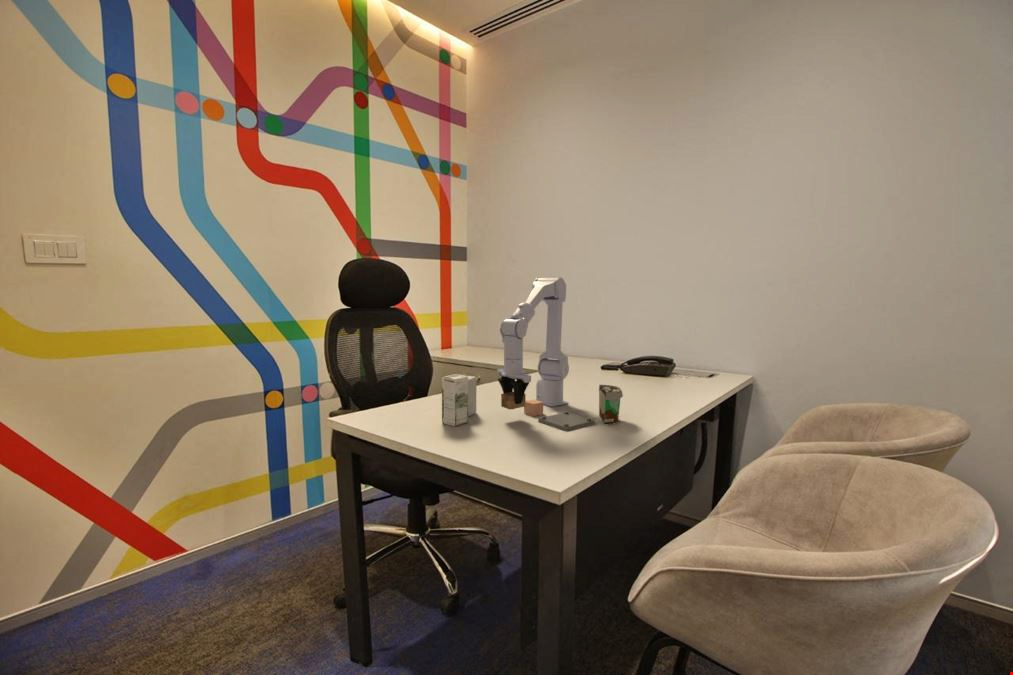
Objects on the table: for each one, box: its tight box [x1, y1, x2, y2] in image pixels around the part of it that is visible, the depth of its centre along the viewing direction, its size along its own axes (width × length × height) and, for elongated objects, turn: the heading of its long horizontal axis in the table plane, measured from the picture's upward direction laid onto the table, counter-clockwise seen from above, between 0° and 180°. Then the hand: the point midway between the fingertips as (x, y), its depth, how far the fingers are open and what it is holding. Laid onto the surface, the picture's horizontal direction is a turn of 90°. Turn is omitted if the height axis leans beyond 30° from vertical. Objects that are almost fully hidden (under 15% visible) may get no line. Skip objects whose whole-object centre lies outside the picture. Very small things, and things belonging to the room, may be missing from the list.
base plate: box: [537, 410, 596, 432], centre depth 147 cm, size 12×12×2 cm
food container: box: [598, 384, 624, 425], centre depth 149 cm, size 12×6×10 cm, turn 179°
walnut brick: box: [500, 391, 527, 410], centre depth 150 cm, size 4×6×4 cm
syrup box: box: [441, 373, 469, 427], centre depth 146 cm, size 6×6×14 cm
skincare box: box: [466, 375, 477, 418], centre depth 156 cm, size 6×4×12 cm
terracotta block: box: [523, 399, 544, 417], centre depth 158 cm, size 4×4×4 cm
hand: (513, 401), depth 150 cm, fingers closed on walnut brick, 4 cm apart
